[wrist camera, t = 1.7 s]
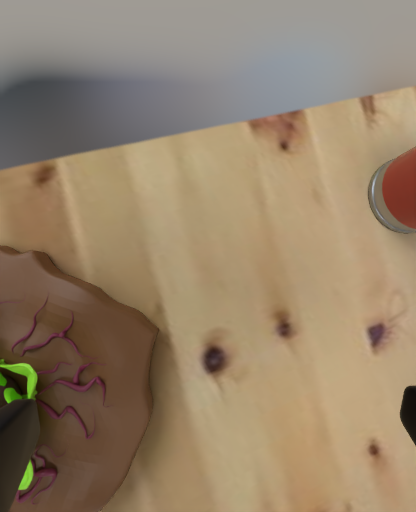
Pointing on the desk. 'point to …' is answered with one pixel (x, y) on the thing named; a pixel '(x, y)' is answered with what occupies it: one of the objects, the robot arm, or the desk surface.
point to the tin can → (395, 193)
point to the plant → (72, 381)
